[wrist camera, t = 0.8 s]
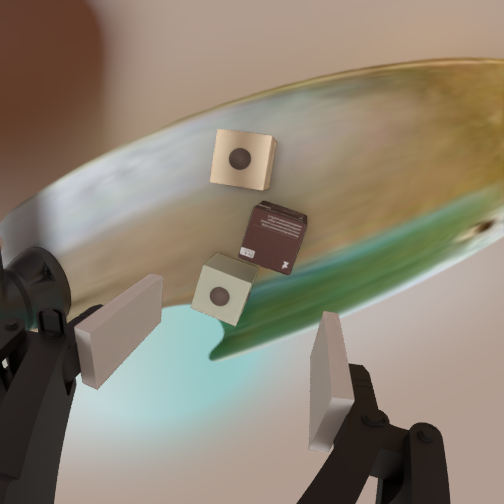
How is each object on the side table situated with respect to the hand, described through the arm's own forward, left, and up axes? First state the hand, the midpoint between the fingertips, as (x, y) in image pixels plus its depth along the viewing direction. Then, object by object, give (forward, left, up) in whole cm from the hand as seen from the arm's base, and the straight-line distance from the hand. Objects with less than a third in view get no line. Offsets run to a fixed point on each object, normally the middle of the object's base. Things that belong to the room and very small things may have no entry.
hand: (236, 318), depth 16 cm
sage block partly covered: (-5, -8, -25) cm, 27 cm away
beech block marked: (-5, +8, -25) cm, 27 cm away
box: (0, 0, -26) cm, 26 cm away
